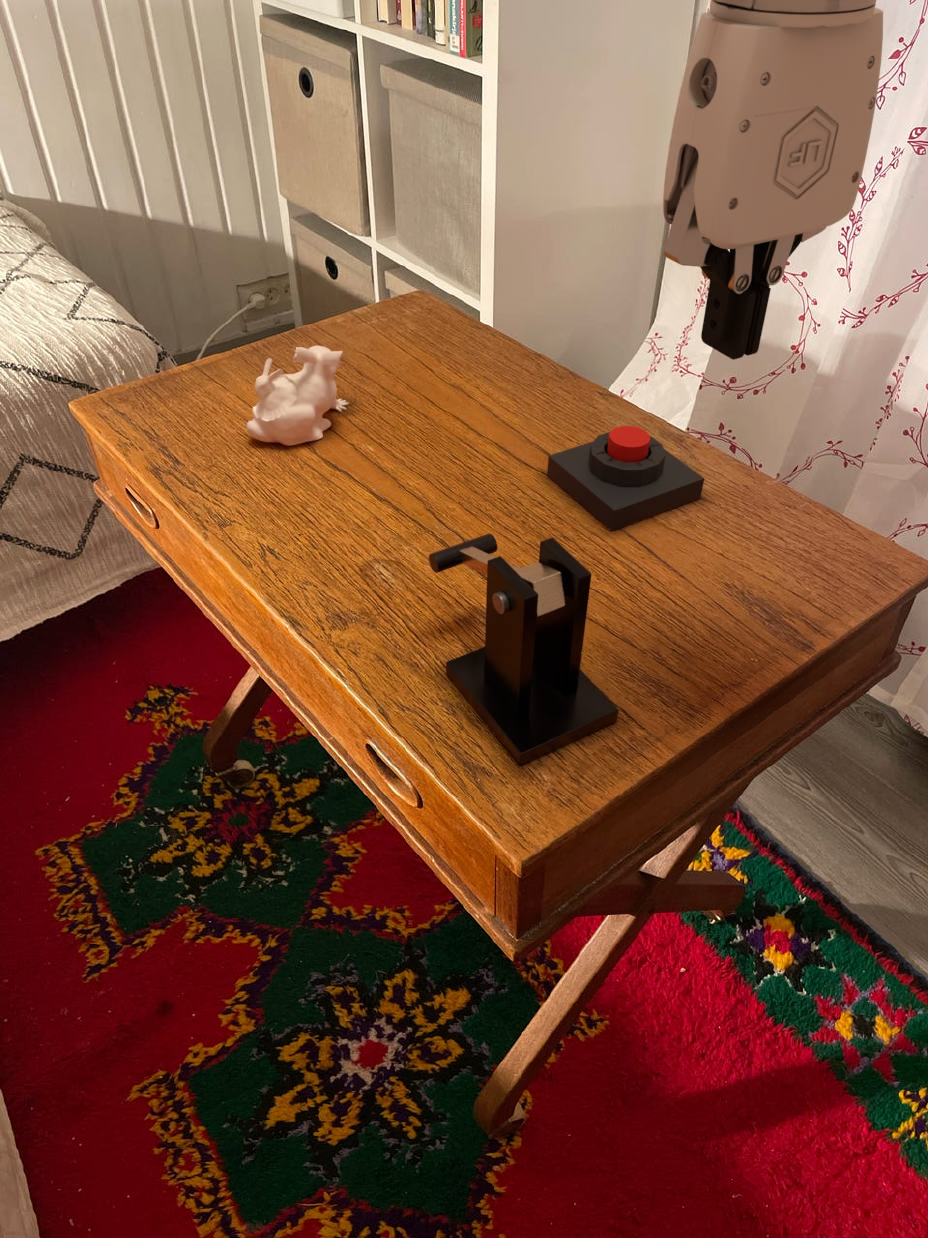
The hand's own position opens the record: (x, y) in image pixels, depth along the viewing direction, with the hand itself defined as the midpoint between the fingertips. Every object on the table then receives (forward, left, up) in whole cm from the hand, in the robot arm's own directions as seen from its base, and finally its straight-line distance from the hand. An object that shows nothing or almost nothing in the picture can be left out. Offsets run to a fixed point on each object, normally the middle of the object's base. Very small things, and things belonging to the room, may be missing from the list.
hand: (728, 347), depth 57 cm
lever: (+12, -5, -17) cm, 21 cm away
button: (-10, -19, -20) cm, 29 cm away
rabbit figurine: (+11, -42, -24) cm, 49 cm away
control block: (-10, -19, -24) cm, 32 cm away
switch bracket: (+12, -1, -24) cm, 27 cm away
